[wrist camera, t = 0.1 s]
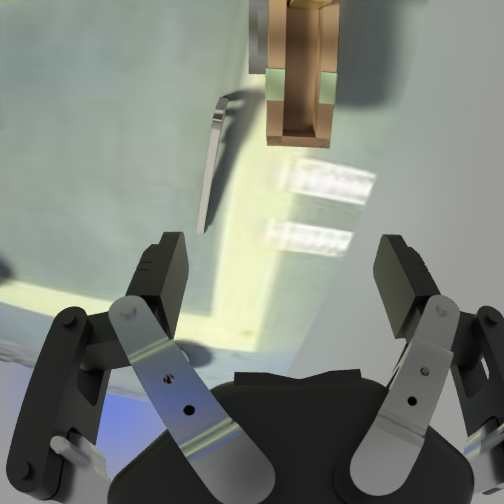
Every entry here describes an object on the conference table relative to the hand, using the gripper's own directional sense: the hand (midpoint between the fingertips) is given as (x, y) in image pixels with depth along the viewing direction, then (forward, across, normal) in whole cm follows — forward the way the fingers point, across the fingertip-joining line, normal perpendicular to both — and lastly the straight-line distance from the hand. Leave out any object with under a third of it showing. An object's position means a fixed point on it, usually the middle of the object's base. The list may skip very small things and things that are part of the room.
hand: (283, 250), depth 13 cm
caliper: (+30, +7, +9) cm, 32 cm away
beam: (+29, -3, -9) cm, 31 cm away
